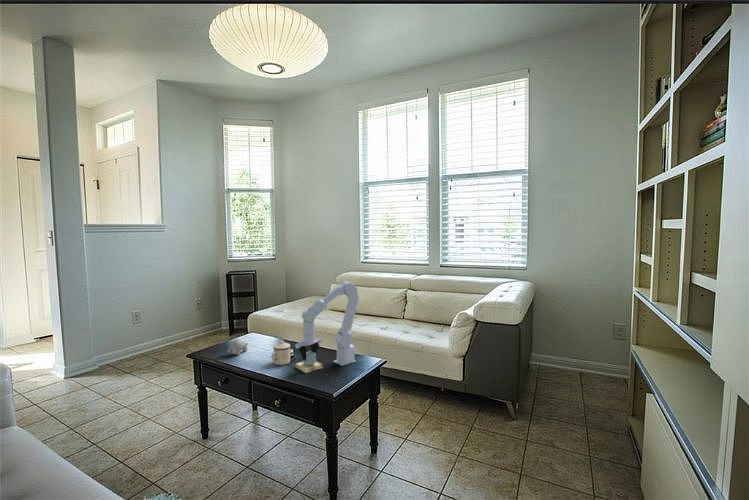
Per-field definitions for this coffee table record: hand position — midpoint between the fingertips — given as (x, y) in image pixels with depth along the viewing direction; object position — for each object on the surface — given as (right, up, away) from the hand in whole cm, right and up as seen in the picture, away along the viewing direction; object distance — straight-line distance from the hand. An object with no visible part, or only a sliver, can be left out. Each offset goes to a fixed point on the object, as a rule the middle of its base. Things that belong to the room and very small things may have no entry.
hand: (308, 358), depth 184 cm
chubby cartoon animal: (-44, -4, +21) cm, 49 cm away
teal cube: (0, -2, 0) cm, 2 cm away
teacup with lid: (-17, -5, +7) cm, 19 cm away
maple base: (0, -5, 0) cm, 5 cm away
